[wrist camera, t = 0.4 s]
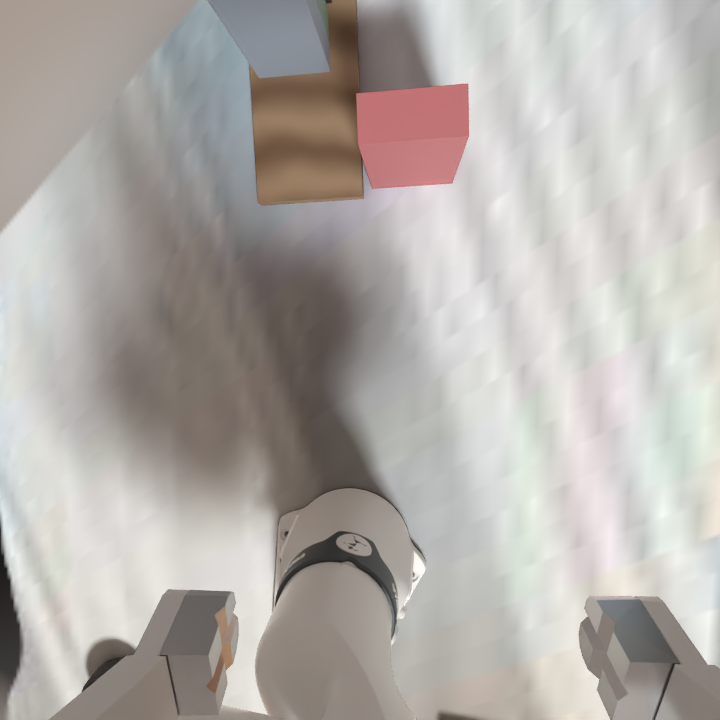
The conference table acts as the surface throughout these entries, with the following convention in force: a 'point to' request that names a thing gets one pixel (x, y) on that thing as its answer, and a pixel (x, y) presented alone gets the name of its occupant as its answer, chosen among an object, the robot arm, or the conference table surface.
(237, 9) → the shelved books
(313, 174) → the board
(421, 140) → the tall pink pillar
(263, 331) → the conference table surface
